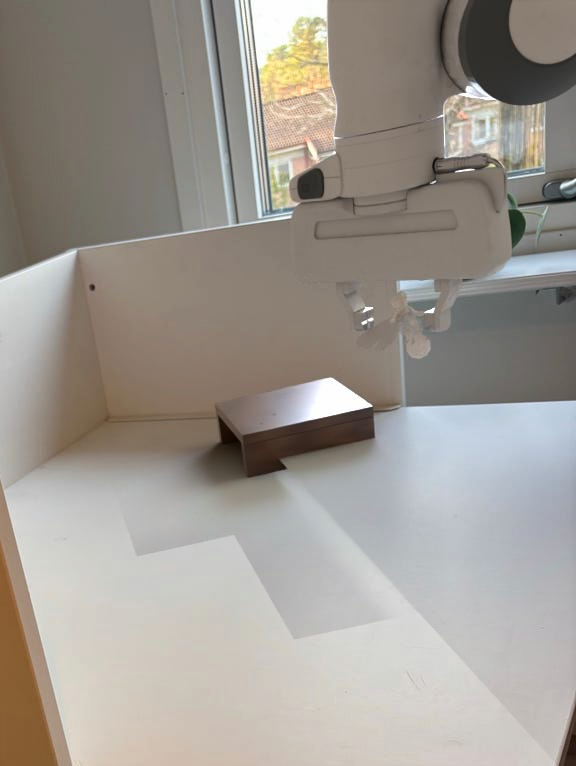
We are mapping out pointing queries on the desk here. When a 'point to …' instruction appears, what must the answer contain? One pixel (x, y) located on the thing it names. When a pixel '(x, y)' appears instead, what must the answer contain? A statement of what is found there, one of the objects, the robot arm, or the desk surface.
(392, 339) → the fairy figurine
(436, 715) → the desk surface
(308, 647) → the desk surface
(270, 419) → the display shelf
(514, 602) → the desk surface
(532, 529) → the desk surface
